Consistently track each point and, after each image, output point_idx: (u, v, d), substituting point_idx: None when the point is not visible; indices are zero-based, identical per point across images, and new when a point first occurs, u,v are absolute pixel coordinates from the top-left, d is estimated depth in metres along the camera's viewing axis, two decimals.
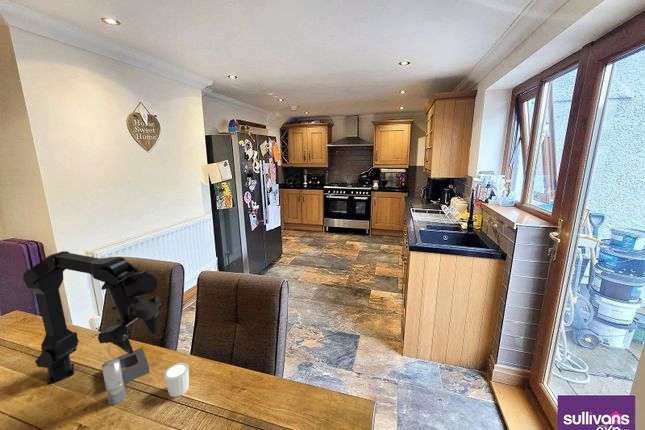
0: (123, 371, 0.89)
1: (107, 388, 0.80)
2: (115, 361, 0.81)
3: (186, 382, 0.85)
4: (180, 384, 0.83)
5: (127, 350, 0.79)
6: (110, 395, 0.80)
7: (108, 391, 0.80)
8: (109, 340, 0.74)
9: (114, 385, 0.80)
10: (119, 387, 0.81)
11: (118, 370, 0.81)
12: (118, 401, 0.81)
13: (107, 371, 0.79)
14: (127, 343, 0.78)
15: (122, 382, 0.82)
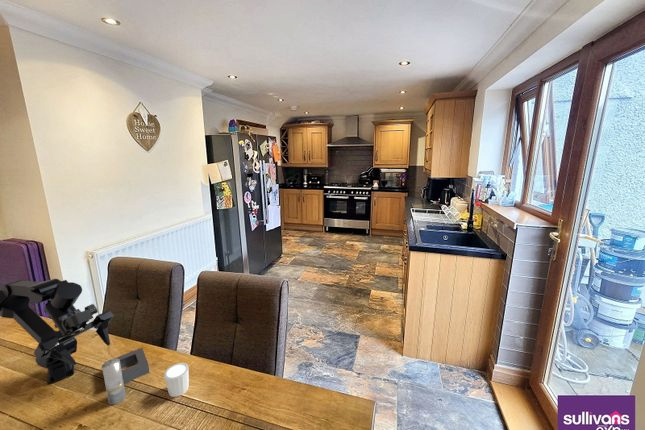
0: (123, 371, 0.89)
1: (107, 388, 0.80)
2: (115, 361, 0.81)
3: (186, 382, 0.85)
4: (180, 384, 0.83)
5: (69, 362, 0.78)
6: (110, 395, 0.80)
7: (108, 391, 0.80)
8: (40, 352, 0.75)
9: (114, 385, 0.80)
10: (119, 387, 0.81)
11: (118, 370, 0.81)
12: (118, 401, 0.81)
13: (107, 371, 0.79)
14: (65, 354, 0.78)
15: (122, 382, 0.82)
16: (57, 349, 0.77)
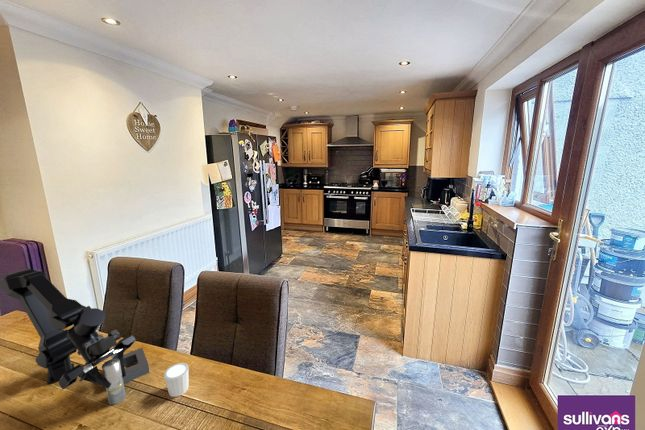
0: None
1: None
2: (115, 361, 0.81)
3: (186, 382, 0.85)
4: (179, 384, 0.83)
5: (103, 385, 0.79)
6: (110, 395, 0.80)
7: (108, 391, 0.80)
8: (65, 383, 0.73)
9: (114, 385, 0.80)
10: (119, 387, 0.81)
11: (118, 370, 0.81)
12: (118, 401, 0.81)
13: (107, 371, 0.79)
14: (99, 377, 0.78)
15: (122, 382, 0.82)
16: (92, 372, 0.77)
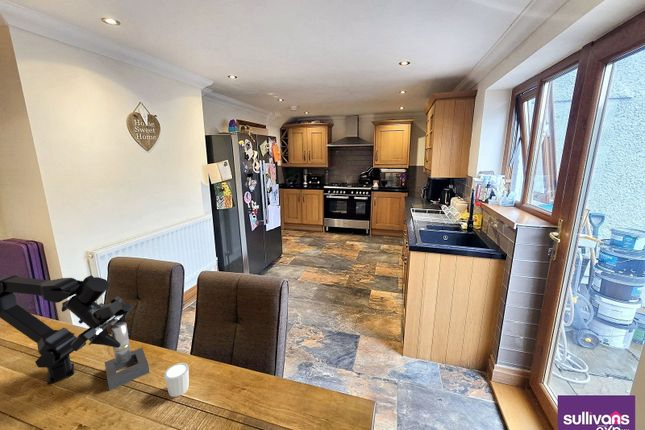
0: (123, 371, 0.89)
1: (116, 348, 0.87)
2: (121, 324, 0.88)
3: (186, 382, 0.85)
4: (180, 384, 0.83)
5: (113, 345, 0.86)
6: (119, 354, 0.87)
7: (117, 351, 0.87)
8: (81, 343, 0.78)
9: (123, 344, 0.87)
10: (127, 347, 0.89)
11: (126, 331, 0.88)
12: (126, 359, 0.89)
13: (118, 332, 0.86)
14: (109, 338, 0.85)
15: None
16: (103, 334, 0.83)
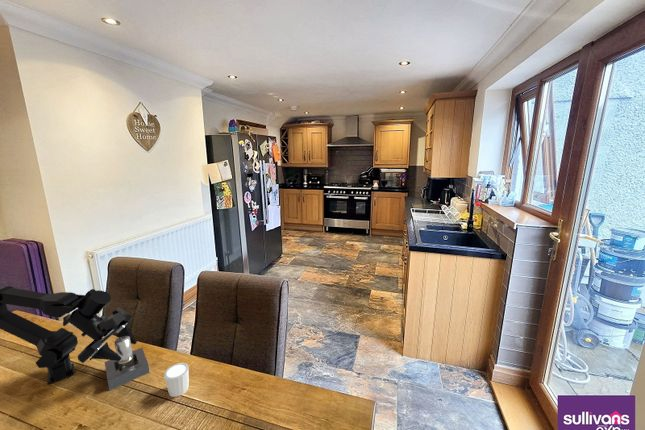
0: (123, 371, 0.89)
1: (121, 361, 0.90)
2: (125, 338, 0.92)
3: (186, 382, 0.85)
4: (180, 384, 0.83)
5: (115, 358, 0.87)
6: (124, 367, 0.91)
7: (122, 364, 0.90)
8: (88, 355, 0.81)
9: (128, 357, 0.91)
10: (131, 359, 0.92)
11: (130, 344, 0.92)
12: None
13: (122, 345, 0.89)
14: (110, 352, 0.86)
15: (132, 355, 0.94)
16: (104, 348, 0.85)
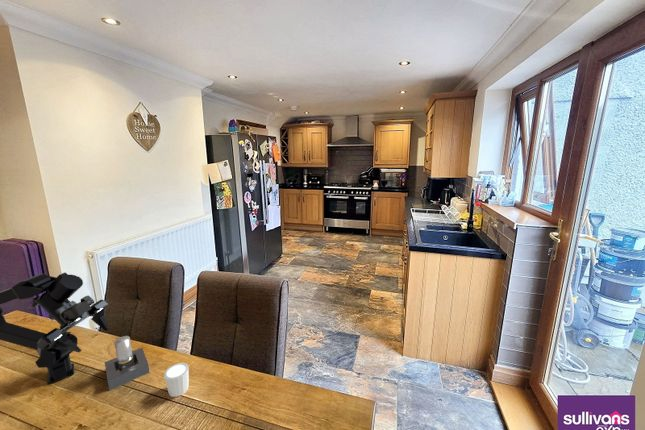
0: (123, 371, 0.89)
1: (121, 361, 0.90)
2: (125, 338, 0.92)
3: (186, 382, 0.85)
4: (180, 384, 0.83)
5: (74, 349, 0.84)
6: (124, 367, 0.91)
7: (122, 364, 0.90)
8: (45, 344, 0.79)
9: (128, 357, 0.91)
10: (131, 359, 0.92)
11: (130, 344, 0.92)
12: None
13: (122, 345, 0.89)
14: (69, 343, 0.83)
15: (132, 355, 0.94)
16: (61, 340, 0.81)
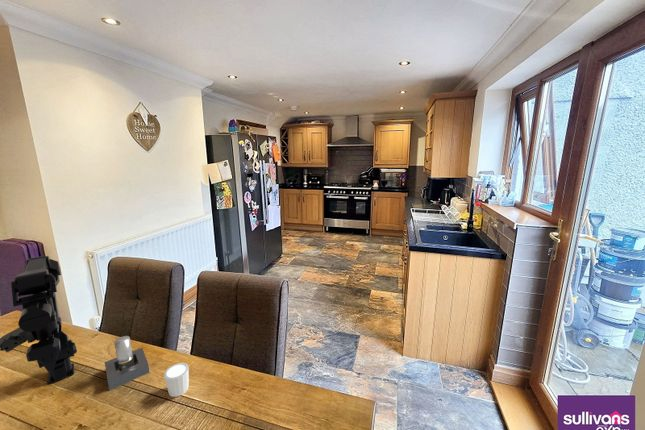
0: (123, 371, 0.89)
1: (121, 361, 0.90)
2: (125, 338, 0.92)
3: (186, 382, 0.85)
4: (180, 384, 0.83)
5: None
6: (124, 367, 0.91)
7: (122, 364, 0.90)
8: None
9: (128, 357, 0.91)
10: (131, 359, 0.92)
11: (130, 344, 0.92)
12: None
13: (122, 345, 0.89)
14: None
15: (132, 355, 0.94)
16: None
